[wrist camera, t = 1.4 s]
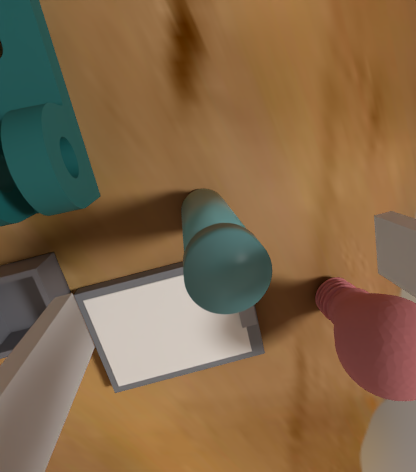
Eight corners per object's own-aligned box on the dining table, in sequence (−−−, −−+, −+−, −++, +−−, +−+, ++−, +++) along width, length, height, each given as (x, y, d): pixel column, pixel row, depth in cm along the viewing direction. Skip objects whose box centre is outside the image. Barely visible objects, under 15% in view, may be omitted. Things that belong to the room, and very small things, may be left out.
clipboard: (77, 288, 28) (71, 298, 26) (240, 246, 28) (244, 253, 26) (117, 383, 31) (114, 398, 29) (261, 345, 31) (266, 357, 30)
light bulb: (380, 270, 30) (504, 350, 19) (344, 329, 32) (438, 437, 20) (318, 246, 29) (412, 317, 17) (284, 310, 30) (349, 413, 19)
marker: (174, 189, 26) (173, 245, 12) (218, 178, 26) (263, 222, 13) (185, 232, 27) (195, 323, 14) (227, 221, 27) (278, 301, 14)
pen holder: (-23, 271, 26) (-52, 290, 23) (53, 252, 26) (36, 268, 23) (10, 335, 28) (-12, 361, 25) (81, 317, 28) (68, 340, 25)
